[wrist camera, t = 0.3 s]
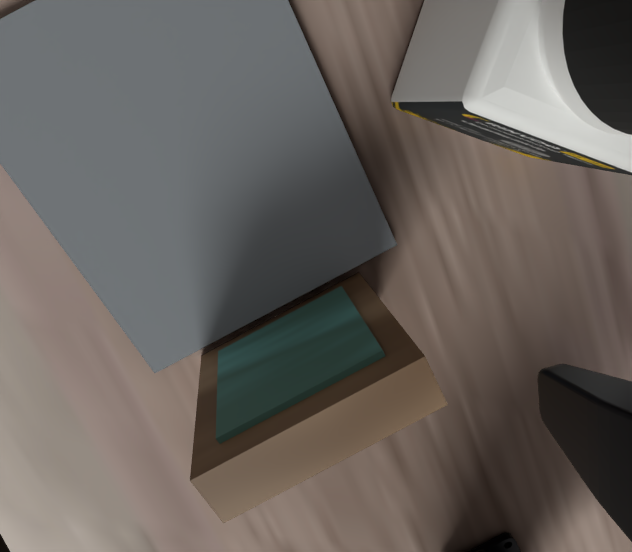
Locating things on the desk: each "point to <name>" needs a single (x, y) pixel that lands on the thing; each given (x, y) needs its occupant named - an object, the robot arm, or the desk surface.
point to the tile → (304, 396)
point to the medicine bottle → (526, 76)
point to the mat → (183, 160)
